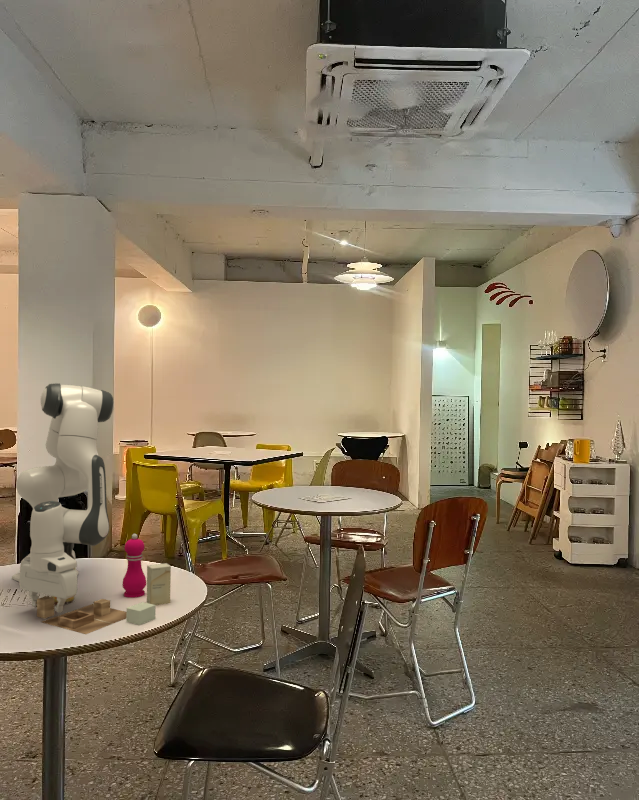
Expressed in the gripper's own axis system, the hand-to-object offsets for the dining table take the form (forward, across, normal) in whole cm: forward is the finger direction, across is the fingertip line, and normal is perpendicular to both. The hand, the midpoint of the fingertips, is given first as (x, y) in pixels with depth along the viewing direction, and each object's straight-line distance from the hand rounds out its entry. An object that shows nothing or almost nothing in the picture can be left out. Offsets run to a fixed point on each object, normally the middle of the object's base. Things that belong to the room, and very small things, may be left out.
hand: (47, 609), depth 186 cm
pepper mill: (+3, +7, +27) cm, 28 cm away
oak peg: (+3, 0, 0) cm, 3 cm away
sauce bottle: (+3, -6, +11) cm, 13 cm away
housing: (+3, +25, +11) cm, 28 cm away
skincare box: (+3, +19, +24) cm, 31 cm away
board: (+3, +12, +5) cm, 13 cm away
